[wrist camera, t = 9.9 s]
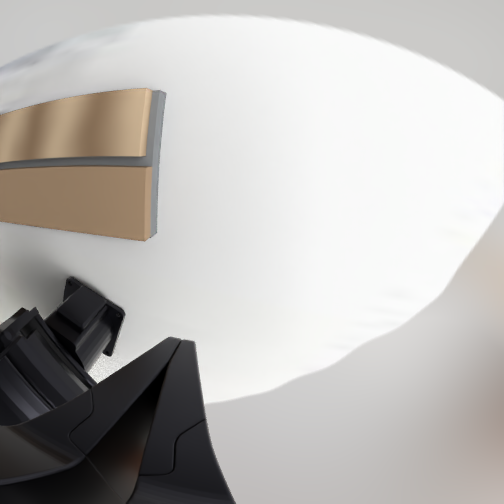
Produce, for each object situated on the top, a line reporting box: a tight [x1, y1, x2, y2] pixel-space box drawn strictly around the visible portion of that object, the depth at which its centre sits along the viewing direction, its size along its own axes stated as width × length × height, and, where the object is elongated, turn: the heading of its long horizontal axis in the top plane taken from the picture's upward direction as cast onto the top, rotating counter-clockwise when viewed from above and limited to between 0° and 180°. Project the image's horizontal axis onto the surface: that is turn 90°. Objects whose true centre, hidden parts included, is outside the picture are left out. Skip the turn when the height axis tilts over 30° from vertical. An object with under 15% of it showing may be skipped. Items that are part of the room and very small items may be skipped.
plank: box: [0, 88, 153, 163], centre depth 16 cm, size 19×4×1 cm, turn 83°
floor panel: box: [0, 90, 166, 241], centre depth 17 cm, size 20×10×2 cm, turn 83°
